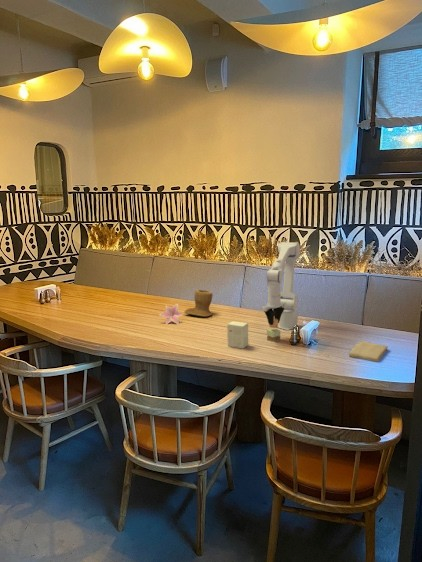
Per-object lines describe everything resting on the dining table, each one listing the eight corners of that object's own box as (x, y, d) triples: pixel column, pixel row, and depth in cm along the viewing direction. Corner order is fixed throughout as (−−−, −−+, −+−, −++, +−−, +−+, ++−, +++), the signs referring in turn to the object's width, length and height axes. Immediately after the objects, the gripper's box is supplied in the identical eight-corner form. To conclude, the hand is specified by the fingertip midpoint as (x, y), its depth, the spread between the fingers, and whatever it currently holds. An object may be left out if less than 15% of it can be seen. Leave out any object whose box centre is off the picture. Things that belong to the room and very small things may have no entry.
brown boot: (216, 314, 241) (216, 289, 238) (205, 319, 231) (204, 293, 228) (196, 311, 249) (195, 286, 246) (183, 315, 239) (183, 290, 237)
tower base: (272, 338, 198) (272, 333, 198) (280, 340, 195) (280, 335, 195) (267, 340, 195) (267, 335, 194) (275, 342, 192) (275, 337, 191)
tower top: (273, 333, 198) (273, 328, 197) (280, 335, 194) (280, 330, 193) (266, 335, 195) (266, 329, 195) (273, 337, 191) (273, 332, 191)
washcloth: (388, 350, 180) (388, 343, 179) (378, 363, 165) (379, 356, 165) (360, 345, 187) (360, 339, 186) (348, 358, 172) (348, 350, 171)
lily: (156, 324, 226) (157, 311, 220) (167, 311, 235) (168, 299, 229) (175, 332, 223) (176, 320, 217) (186, 319, 232) (187, 307, 226)
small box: (248, 345, 188) (248, 323, 186) (243, 349, 183) (243, 326, 181) (233, 342, 192) (232, 320, 190) (227, 346, 187) (227, 323, 185)
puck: (273, 324, 197) (273, 317, 196) (279, 326, 194) (279, 319, 193) (267, 326, 194) (267, 319, 193) (274, 328, 191) (274, 321, 190)
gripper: (277, 291, 199) (277, 318, 201) (257, 296, 189) (257, 324, 192) (289, 293, 193) (288, 321, 196) (269, 298, 184) (268, 328, 186)
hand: (273, 323), depth 193 cm, fingers closed on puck, 4 cm apart
